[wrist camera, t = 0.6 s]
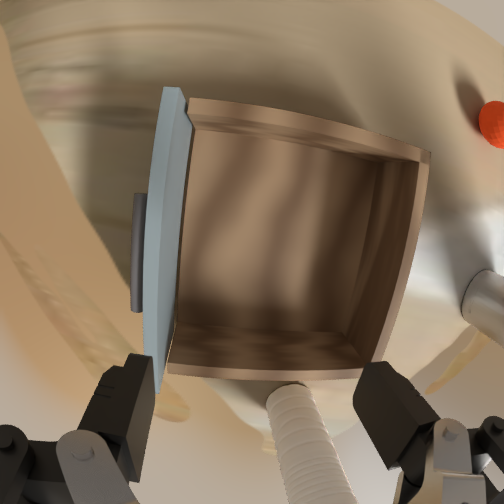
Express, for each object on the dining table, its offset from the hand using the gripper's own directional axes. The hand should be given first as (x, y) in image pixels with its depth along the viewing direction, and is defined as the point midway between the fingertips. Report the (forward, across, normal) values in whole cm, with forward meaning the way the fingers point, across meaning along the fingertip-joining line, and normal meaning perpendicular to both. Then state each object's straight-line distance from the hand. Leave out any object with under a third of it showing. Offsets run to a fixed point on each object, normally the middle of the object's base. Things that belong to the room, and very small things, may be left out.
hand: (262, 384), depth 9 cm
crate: (+22, -5, -1) cm, 23 cm away
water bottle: (+22, -10, +22) cm, 33 cm away
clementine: (+22, -34, -21) cm, 46 cm away
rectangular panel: (+20, +6, -1) cm, 21 cm away
